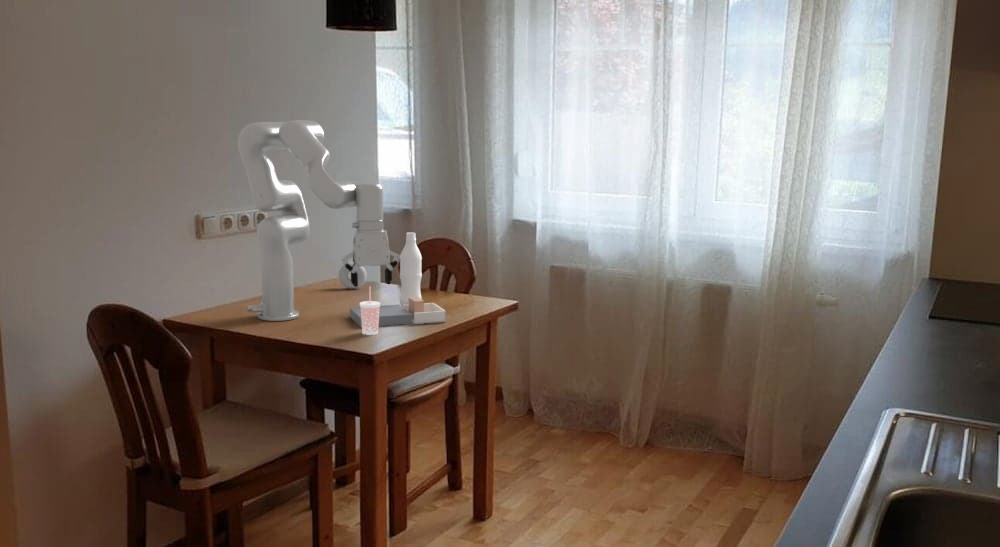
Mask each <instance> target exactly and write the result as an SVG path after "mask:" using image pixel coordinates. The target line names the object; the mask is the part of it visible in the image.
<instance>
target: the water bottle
mask: <svg viewBox="0 0 1000 547" xmlns="http://www.w3.org/2000/svg"><path fill="white" fill-rule="evenodd" d="M405 236H406V237H405V245H404V247H403V249H402V251H401V252H400V254H399V255H400V259H399V261H400V263H399V267H400V268H399V278H400V284H401V285H400V287H401V289H400V295H399V303H400V304H399V305H400V306H402V307H403V305H409V297H419V298H420V299H422V294H421V292H422V291H421V281H422V276H423V273H422V260H423V257H422V254H421V251H420V249H419V247H418V246H417V242H416V241H417V237H416V232H413V231H412V232H411V231H409V232H406V235H405ZM422 300H423V299H422Z"/></svg>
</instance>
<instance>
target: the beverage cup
mask: <svg viewBox="0 0 1000 547" xmlns="http://www.w3.org/2000/svg"><path fill="white" fill-rule="evenodd" d="M368 294H369V296H368V297H369V300H365V301H364V300H363V301H361V302H359V307H361V320H362V328H361V330H362V331H361V332H362V335H365V334H366V335H365V336H374V335H375V336H376V335H378V334H379V326H378V325H379V308H380V306H382V305H381V302H380V301H375V300H372V286H371V285H370V286H368Z"/></svg>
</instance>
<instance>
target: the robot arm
mask: <svg viewBox="0 0 1000 547" xmlns="http://www.w3.org/2000/svg"><path fill="white" fill-rule="evenodd" d="M324 139H325V132H324V130H323V127H322V126H321V125H320V124H319V123H318V122H317V121H314V120H312V119H311V120H310V119H309V120H307V119H306V120H305V119H302V120H299V119H298V120H296V119H295V120H288V121H259V122H258V121H257V122H253V123H249V124H247V125H246V126H244V127H243V128H242V129H241V132H240V133H239V135H238V139H237V140H238V141H237V148H238V152H239V156H240V158H241V161H242V163H243V166H244V168H245V172H246V176H247V179H248V183H249V188H250V191H251V196H252V199H253V204H254V205H255V207H256V209H257V210H258V211H259V212H262V213H274V212H280V214H278V215H272V216H268V217H265V218H264V219H262V220H261V221H260V222H259V223H258V225H257V227H256V235H257V241H258V246H259V250H260V264H261V265H260V267H261V268H260V270H261V298H262V299H261V300H262V301H259V302H260V303H258V304H256V305H247V306H246V312H247V313H249V312H250V313H251V312H252V313H257V318H258V319H259V320H262V321H268V322H282V321H284V322H285V321H290V320H294V319H297V318H299V317H300V313H299V312H300V311H298V310H295V301H294V298H295V297H294V296H295V295H294V263H293V261H294V260H293V256H292V254H291V252H290V250H289V247H288V246H291V245H296V244H301V243H303V242H305V241H306V240H307V239H308V238H309V236H310V232H311V231H310V230H311V228H310V220H309V216H308V213H307V209H306V205H305V200H304V197H303V194H302V191H301V189H300V187H299V185H297V183H295V182H294V181H293V180H289V179H279V178H278V175H277V173H276V172H277V171H276V168H275V165H274V163H273V161H272V159H271V158H270V157H269V156H268V155H267V154H266V151H281V150H284V151H285V150H288V151H289V152H290V154H292V156H293V157H294V158H295V159H296V160H297V161H298V162H299V163H300V164H301V166H302V167H304V169H305V170H306V178H307V182H308V186H309V188H310V189H311V191H312V192H313V194H314V195H315V196H316V197H317V199H319V200H320V201H321V203H323V204H324V205H325V206H326V207H328V208H330V209H333V210H339V209H345V208H346V209H348V208H354V207H356V221H355V222H351V228H353V229H356V230H355V231H354V234H353V242H352V251H350V252H349V253H347V254H345V255H343V256H342V257H341V258H340V260H341V262H342V264H343V265H344V266H345V267H346V268H347V269H348V270H349V271H350V272H349V273H350V279H351V283H352V284H353V286H355V287H357V286H358V275H357V273H356V271H357V269H358V268H359V267H364V268H367V267H376V266H377V267H378V266H379V267H380V266H384V267H385V270H384V283H385V284H387V285H391V282H392V281H393V280H392V279H393V276H392V275H393V274H392V273H393V271H394V269H395V267H397V265H398V262H399V261H400V255H401V254H399V253H396V252H395V251H392V250H391V249H390V244H389V237H388V232H387V230H386V229H384V194H383V192H384V191H383V186H382V185H381V184H380V183H378V182H364V181H363V182H362V181H358V180H348V181H335V180H334V179H333V178H332V177H331V176H330V175H329V174H328V173H327V172H326V170H325V167H326V166H327V164H329V161H330V159H331V154H330V152H329V150H328V149H327V148H326V147H325V145H324V144H323V143H324V141H325V140H324ZM391 256H392V257H393V260H392V261H391ZM351 259H352V262H353V263H354V264H353V265H352V266H350V265H349V263H348V260H351Z"/></svg>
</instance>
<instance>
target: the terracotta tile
mask: <svg viewBox="0 0 1000 547" xmlns="http://www.w3.org/2000/svg"><path fill="white" fill-rule="evenodd" d="M424 303H425V300H423V299H420V298H419V297H409V312H410V313H411V314H412V319H413V320H414V313H420V312H424Z"/></svg>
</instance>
